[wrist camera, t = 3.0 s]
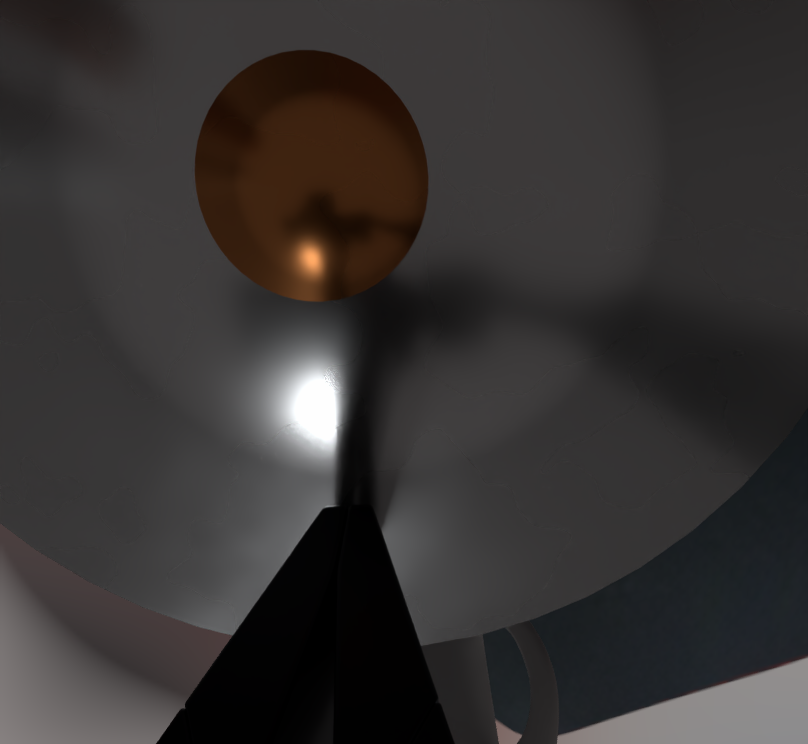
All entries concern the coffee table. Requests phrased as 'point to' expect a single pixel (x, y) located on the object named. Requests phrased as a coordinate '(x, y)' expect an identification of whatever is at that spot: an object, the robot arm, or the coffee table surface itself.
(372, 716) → the robot arm
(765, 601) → the coffee table surface
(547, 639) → the coffee table surface
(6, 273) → the lid
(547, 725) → the mug
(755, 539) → the coffee table surface
